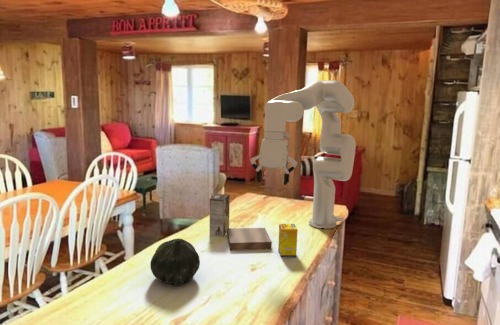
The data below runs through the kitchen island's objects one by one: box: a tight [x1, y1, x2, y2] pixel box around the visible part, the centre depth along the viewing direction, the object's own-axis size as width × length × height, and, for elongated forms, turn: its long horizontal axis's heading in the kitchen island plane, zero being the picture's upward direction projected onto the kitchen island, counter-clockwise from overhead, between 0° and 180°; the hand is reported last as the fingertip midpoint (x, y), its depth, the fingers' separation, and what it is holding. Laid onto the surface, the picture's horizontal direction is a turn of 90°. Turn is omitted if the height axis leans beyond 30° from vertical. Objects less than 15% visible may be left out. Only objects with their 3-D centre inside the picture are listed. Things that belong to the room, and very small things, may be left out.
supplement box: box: [277, 223, 298, 258], centre depth 145 cm, size 6×6×11 cm
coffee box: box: [209, 193, 230, 238], centre depth 165 cm, size 9×6×16 cm
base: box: [226, 227, 273, 251], centre depth 157 cm, size 16×16×3 cm
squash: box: [150, 238, 201, 286], centre depth 123 cm, size 14×15×15 cm
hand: (272, 182), depth 142 cm, fingers open, 9 cm apart
